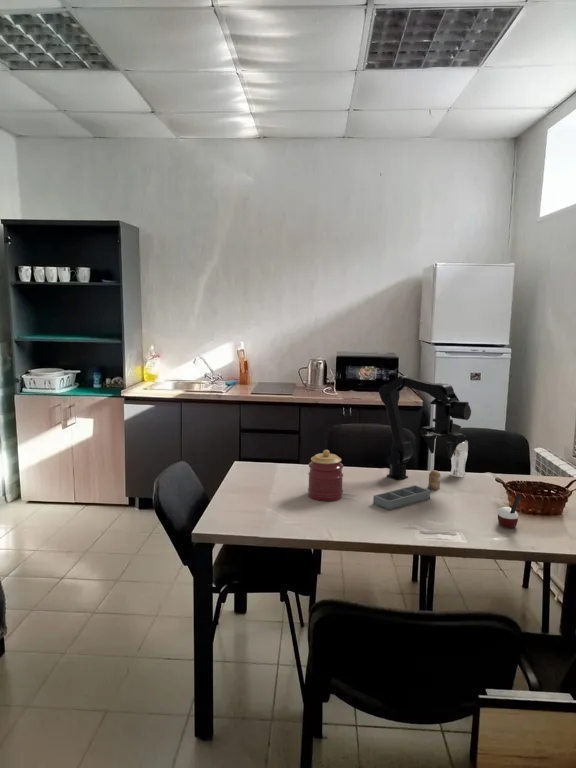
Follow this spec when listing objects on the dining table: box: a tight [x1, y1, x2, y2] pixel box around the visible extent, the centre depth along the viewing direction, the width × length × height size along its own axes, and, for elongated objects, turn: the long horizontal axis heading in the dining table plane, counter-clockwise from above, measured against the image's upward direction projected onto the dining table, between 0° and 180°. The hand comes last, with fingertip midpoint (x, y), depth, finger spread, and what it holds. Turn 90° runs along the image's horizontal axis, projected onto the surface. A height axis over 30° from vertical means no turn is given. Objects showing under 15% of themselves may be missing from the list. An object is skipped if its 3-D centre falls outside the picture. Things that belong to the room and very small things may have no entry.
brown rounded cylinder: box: [427, 469, 441, 491], centre depth 214 cm, size 4×4×7 cm
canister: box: [307, 449, 344, 502], centre depth 203 cm, size 13×13×18 cm
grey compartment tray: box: [372, 484, 432, 511], centre depth 199 cm, size 8×22×3 cm, turn 124°
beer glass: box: [449, 439, 469, 478], centre depth 231 cm, size 7×7×15 cm
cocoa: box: [497, 494, 522, 529], centre depth 176 cm, size 10×6×12 cm, turn 169°
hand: (441, 455), depth 213 cm, fingers open, 9 cm apart
